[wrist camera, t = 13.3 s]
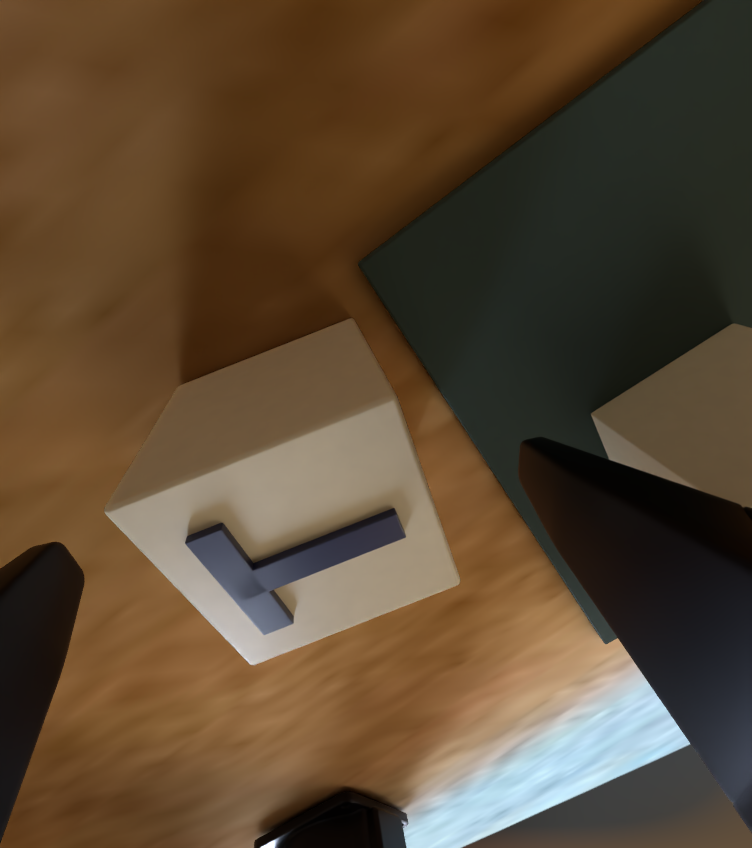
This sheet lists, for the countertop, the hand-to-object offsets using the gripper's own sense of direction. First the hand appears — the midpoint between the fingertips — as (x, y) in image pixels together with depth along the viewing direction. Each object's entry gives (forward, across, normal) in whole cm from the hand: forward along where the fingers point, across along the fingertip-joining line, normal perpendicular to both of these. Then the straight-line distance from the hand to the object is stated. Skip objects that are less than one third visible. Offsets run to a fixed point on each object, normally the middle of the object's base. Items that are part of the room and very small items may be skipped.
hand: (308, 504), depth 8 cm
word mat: (+3, -11, +3) cm, 12 cm away
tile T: (+3, 0, 0) cm, 3 cm away
